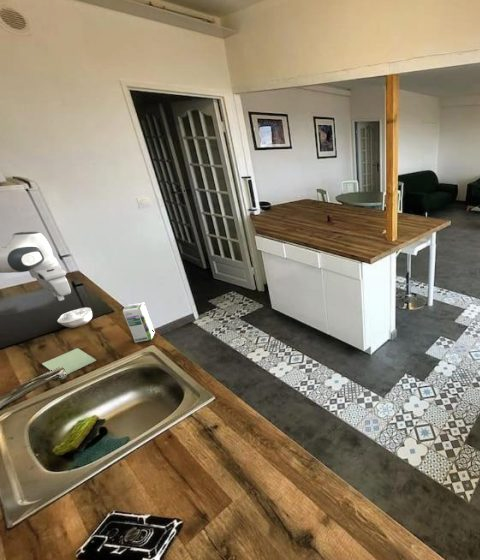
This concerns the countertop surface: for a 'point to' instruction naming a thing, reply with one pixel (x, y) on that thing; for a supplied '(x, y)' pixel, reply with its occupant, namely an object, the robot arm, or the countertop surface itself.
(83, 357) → the dish cloth
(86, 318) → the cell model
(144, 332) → the syrup box
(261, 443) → the countertop surface
